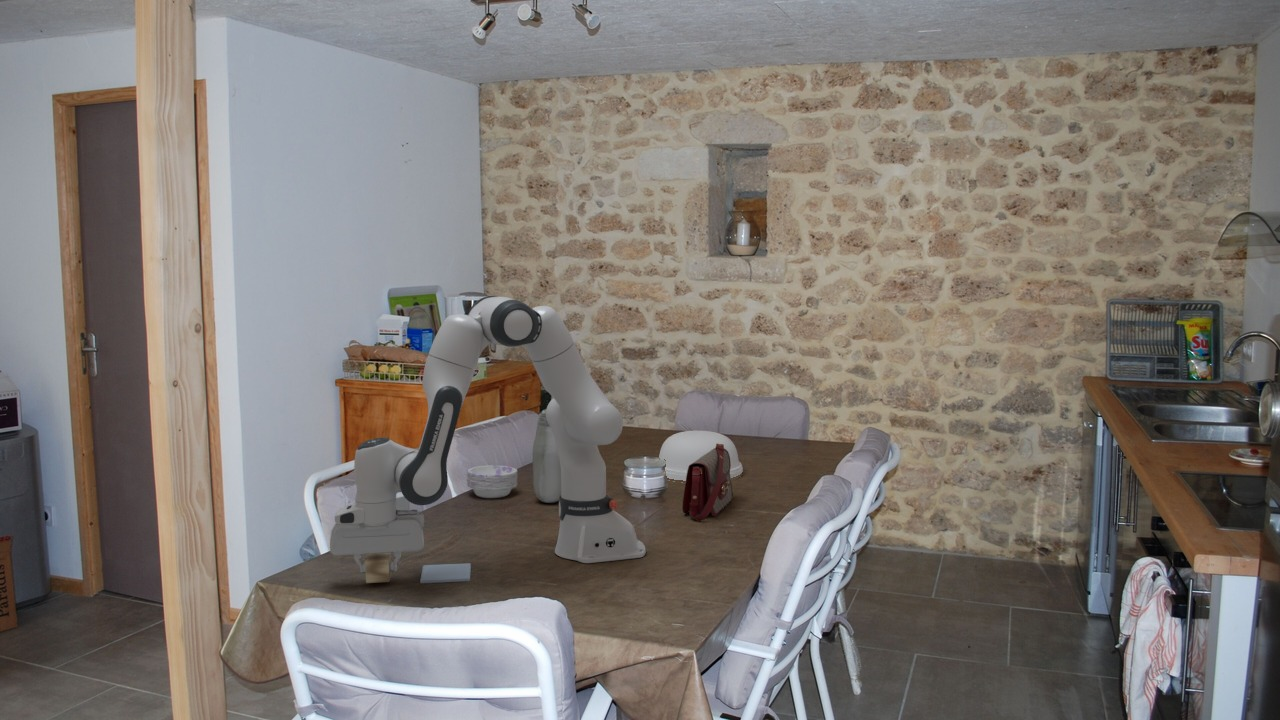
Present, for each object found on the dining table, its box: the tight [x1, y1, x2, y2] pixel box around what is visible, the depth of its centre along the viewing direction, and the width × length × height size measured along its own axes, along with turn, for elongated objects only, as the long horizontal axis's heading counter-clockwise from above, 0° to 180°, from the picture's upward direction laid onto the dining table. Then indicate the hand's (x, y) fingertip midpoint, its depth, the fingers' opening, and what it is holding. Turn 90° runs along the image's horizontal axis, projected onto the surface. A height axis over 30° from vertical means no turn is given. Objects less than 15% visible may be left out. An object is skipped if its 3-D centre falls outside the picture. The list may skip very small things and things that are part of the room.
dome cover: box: [658, 430, 744, 481], centre depth 332 cm, size 32×30×14 cm
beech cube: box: [364, 553, 392, 584], centre depth 221 cm, size 5×5×5 cm
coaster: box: [419, 562, 472, 584], centre depth 228 cm, size 11×11×1 cm
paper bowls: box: [466, 464, 518, 499], centre depth 301 cm, size 15×15×8 cm
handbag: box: [682, 444, 734, 521], centre depth 285 cm, size 28×11×17 cm, turn 160°
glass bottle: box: [532, 408, 561, 504], centre depth 292 cm, size 10×10×28 cm
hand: (378, 571), depth 221 cm, fingers closed on beech cube, 5 cm apart
